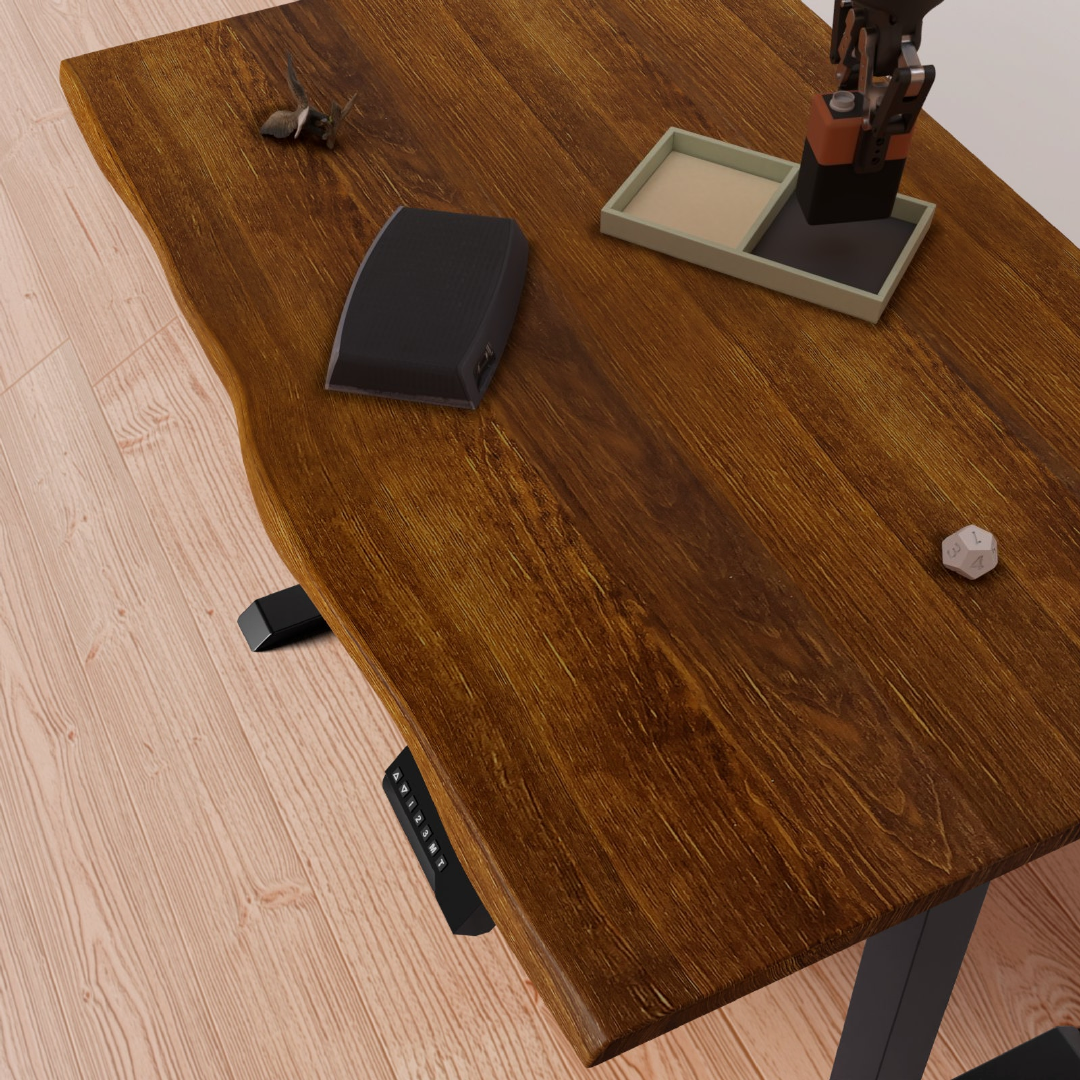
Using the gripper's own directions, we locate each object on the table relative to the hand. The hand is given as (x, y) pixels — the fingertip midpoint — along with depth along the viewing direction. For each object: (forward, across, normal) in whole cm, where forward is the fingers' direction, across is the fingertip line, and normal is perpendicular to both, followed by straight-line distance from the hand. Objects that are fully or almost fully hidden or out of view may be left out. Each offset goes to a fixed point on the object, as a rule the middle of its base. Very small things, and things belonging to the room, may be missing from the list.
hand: (855, 149), depth 88 cm
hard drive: (+10, -2, +33) cm, 35 cm away
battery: (+6, 0, 0) cm, 6 cm away
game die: (+10, -32, +1) cm, 34 cm away
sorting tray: (+10, +4, +5) cm, 12 cm away
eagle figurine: (+10, +25, +42) cm, 50 cm away
